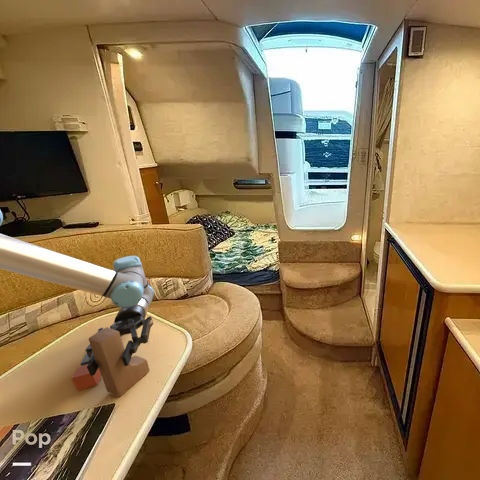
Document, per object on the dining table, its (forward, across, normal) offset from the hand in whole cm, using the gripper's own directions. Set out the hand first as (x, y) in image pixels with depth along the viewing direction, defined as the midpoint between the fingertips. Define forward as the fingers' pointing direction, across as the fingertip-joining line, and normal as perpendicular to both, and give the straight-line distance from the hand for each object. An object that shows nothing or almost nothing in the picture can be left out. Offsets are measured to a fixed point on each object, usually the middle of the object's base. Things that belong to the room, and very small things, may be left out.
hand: (108, 366), depth 65 cm
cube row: (-16, +10, -11) cm, 21 cm away
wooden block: (-5, -1, -10) cm, 12 cm away
